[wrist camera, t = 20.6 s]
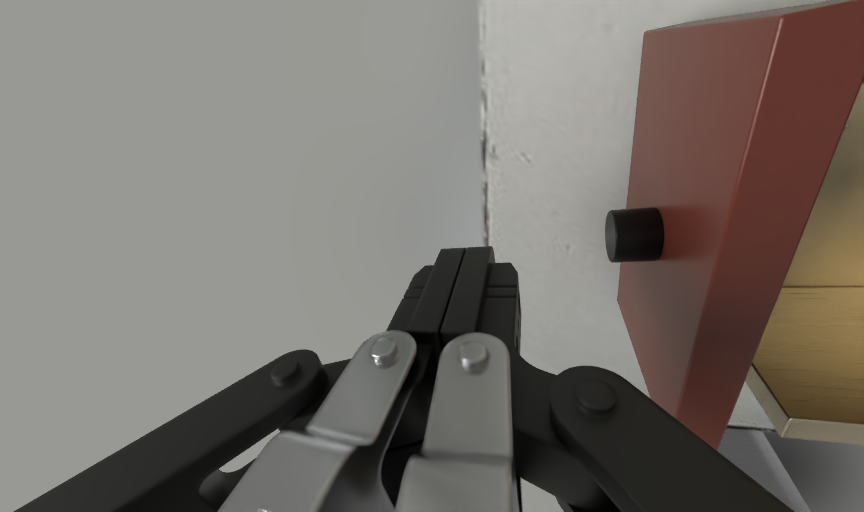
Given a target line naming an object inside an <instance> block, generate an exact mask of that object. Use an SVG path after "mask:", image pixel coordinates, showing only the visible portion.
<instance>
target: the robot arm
mask: <svg viewBox="0 0 864 512" xmlns="http://www.w3.org/2000/svg"><path fill="white" fill-rule="evenodd" d="M520 338H521V306H520V294H519V282H518V273H517V271H516V270H515V268H514V267H513V265H512V264H511V263H495V258H494V251H493V247H492V246H488V247H469V248H467V249H466V248H451V249H441V251H440V253H439V255H438V257H437V260H436V262H435V264H434V265H431V266H424V267H423V268H422V269H421V270H420V271H419V272H418V273H416V274H415V275H414V277H413V279H412V281H411V283H410V285H409V289H407V291H406V293H405V295H404V299H402V301H401V303H400V305H399V306H398V308H397V310H396V312H395V315H394V316H393V318H392V320H391V323H390V325H389V327H388V328H387V330H386V331H385V332H381V333H378V334H376V335H374V336H372V337H370V338H369V339H367V340H366V341H365V342H364V343H363V344H362V345H361V346H360V347H359V348H358V350H357V351H356V353H355V354H354V356H353V358H352V359H348V360H343V361H339V362H334V363H330V364H325V365H322V364H321V361H320V360H319V358H318V356H317V354H316V353H314V352H313V351H310V350H296V351H292V352H289V353H287V354H284V355H282V356H281V357H279V358H277V359H275V360H274V361H272V362H270V363H269V364H267V365H265V366H263V367H262V368H260V369H258V370H257V371H255V372H253V373H251V374H249V375H248V376H246V377H244V378H243V379H241V380H239V381H238V382H236V383H234V384H232V385H231V386H229V387H227V388H225V389H224V390H222V391H220V392H219V393H217V394H215V395H214V396H212V397H210V398H208V399H207V400H205V401H203V402H201V403H200V404H198V405H196V406H194V407H193V408H191V409H189V410H188V411H186V412H184V413H182V414H181V415H179V416H177V417H176V418H174V419H172V420H171V421H169V422H167V423H165V424H163V425H162V426H160V427H159V428H157V429H155V430H153V431H151V432H150V433H148V434H146V435H145V436H143V437H141V438H140V439H138V440H136V441H134V442H133V443H131V444H129V445H127V446H126V447H124V448H122V449H121V450H119V451H117V452H115V453H114V454H112V455H110V456H108V457H107V458H105V459H103V460H102V461H100V462H98V463H96V464H95V465H93V466H91V467H90V468H88V469H86V470H85V471H83V472H81V473H79V474H78V475H76V476H74V477H72V478H71V479H69V480H67V481H66V482H64V483H62V484H60V485H59V486H57V487H55V488H53V489H52V490H50V491H48V492H47V493H45V494H43V495H41V496H40V497H38V498H37V499H35V500H33V501H31V502H29V503H28V504H26V505H24V506H23V507H21V508H19V509H17V510H16V511H14V512H523V503H522V486H521V485H522V483H521V478H522V479H524V480H526V481H528V482H530V483H532V484H534V485H535V486H537V487H539V488H541V489H543V490H545V491H547V492H549V493H551V494H552V495H554V496H555V497H556V499H557V501H558V503H559V505H560V506H561V508H562V509H563V511H564V512H794V511H793V510H791V509H790V508H789V507H788V506H786V505H785V504H784V503H782V502H781V501H780V500H779V499H777V498H776V497H775V496H774V495H772V494H771V493H770V492H768V491H767V490H766V489H765V488H763V487H762V486H761V485H760V484H758V483H757V482H756V481H754V480H753V479H752V478H751V477H749V476H748V475H747V474H745V473H744V472H743V471H742V470H740V469H739V468H738V467H737V466H735V465H734V464H733V463H731V462H730V461H729V460H728V459H726V458H725V457H724V456H723V455H721V454H720V453H719V452H717V451H716V450H715V449H714V448H712V447H711V446H710V445H709V444H707V443H706V442H705V441H703V440H702V439H701V438H700V437H698V436H697V435H696V434H695V433H693V432H692V431H691V430H689V429H688V428H687V427H686V426H684V425H683V424H682V423H681V422H679V421H678V420H677V419H675V418H674V417H673V416H672V415H670V414H669V413H668V412H667V411H665V410H664V409H663V408H661V407H660V406H659V405H658V404H656V403H655V402H654V401H652V400H651V399H650V398H649V397H647V396H646V395H645V394H644V393H642V392H641V391H640V390H638V389H637V388H636V387H635V386H633V385H632V384H631V383H630V382H628V381H627V380H626V379H624V378H623V377H621V376H620V375H618V374H616V373H614V372H612V371H609V370H607V369H603V368H600V367H594V366H577V367H573V368H569V369H567V370H565V371H563V372H561V373H560V374H558V375H554V374H551V373H548V372H545V371H543V370H540V369H538V368H536V367H534V366H532V365H530V364H529V363H528V362H526V361H525V360H524V359H523V358H522V357H521V356H520ZM276 429H279V430H280V433H278V434H277V435H275V436H274V437H273V438H272V439H271V440H270V441H269V442H268V443H267V445H266V446H265V447H264V448H263V450H262V451H261V453H260V454H259V455H258V457H257V458H255V459H254V460H253V461H251V462H250V463H248V464H247V465H246V466H244V467H243V468H241V469H239V470H237V471H234V472H230V473H225V472H222V471H220V470H219V468H220V467H222V466H223V465H225V464H226V463H227V462H229V461H230V460H232V459H233V458H235V457H236V456H238V455H239V454H241V453H242V452H244V451H245V450H247V449H248V448H250V447H251V446H252V445H254V444H256V443H257V442H258V441H260V440H261V439H263V438H264V437H266V436H267V435H269V434H270V433H272V432H273V431H275V430H276Z"/></svg>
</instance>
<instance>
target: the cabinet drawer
mask: <svg viewBox="0 0 864 512" xmlns="http://www.w3.org/2000/svg"><path fill="white" fill-rule="evenodd" d="M605 241H606V250H607V254H608V258H609V260H610V261H611V262H621V267H620V277H619V287H618V297H617V301H618V304H619V307H620V310H621V313H622V316H623V319H624V322H625V325H626V327H627V330H628V333H629V336H630V339H631V342H632V345H633V348H634V351H635V354H636V357H637V360H638V363H639V365H640V368H641V371H642V374H643V377H644V380H645V383H646V386H647V389H648V392H649V395H650V398H651V400H652V401H654V402H655V403H656V404H658V405H659V406H660V407H661V408H663V409H664V410H665V411H667V412H668V413H669V414H670V415H672V416H673V417H674V418H675V419H677V420H678V421H679V422H681V423H682V424H683V425H684V426H686V427H687V428H688V429H689V430H691V431H692V432H693V433H695V434H696V435H697V436H698V437H700V438H701V439H702V440H703V441H705V442H706V443H707V444H709V445H710V446H711V447H712V448H714V449H715V450H716V451H717V450H718V447H719V445H720V442H721V440H722V437H723V435H724V432H725V430H726V427H727V425H728V422H729V419H730V417H731V414H732V412H733V409H734V407H735V404H736V402H737V399H738V397H739V394H740V392H741V389H742V387H743V384H744V381H745V382H746V383H747V385H748V386H749V388H750V390H751V391H752V393H753V394H754V396H755V397H756V399H757V401H758V402H759V404H760V405H761V407H762V408H763V410H764V411H765V413H766V415H767V416H768V418H769V419H770V421H771V422H772V424H773V425H774V427H775V429H776V430H777V432H778V433H779V435H780V436H781V437H785V438H794V439H804V440H814V441H824V442H834V443H844V444H855V445H864V0H834V1H828V2H821V3H814V4H807V5H801V6H794V7H787V8H780V9H773V10H767V11H760V12H753V13H746V14H740V15H733V16H726V17H719V18H713V19H706V20H699V21H692V22H686V23H682V24H677V25H672V26H668V27H663V28H658V29H654V30H649V31H646V32H645V33H644V37H643V47H642V57H641V67H640V77H639V87H638V97H637V107H636V117H635V127H634V137H633V147H632V157H631V167H630V177H629V187H628V197H627V207H626V209H622V210H611V211H609V212H608V214H607V218H606V225H605Z"/></svg>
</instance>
